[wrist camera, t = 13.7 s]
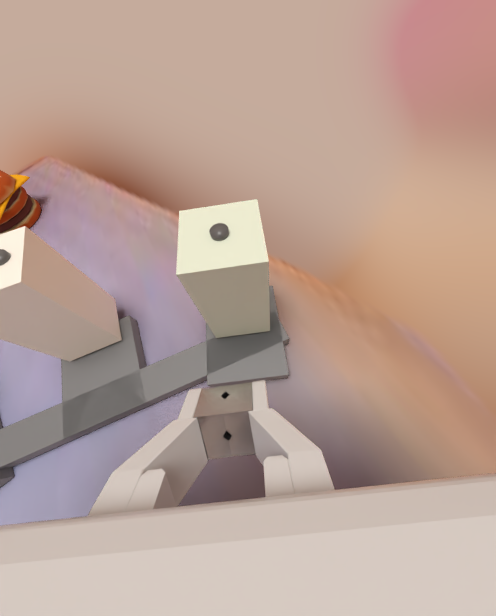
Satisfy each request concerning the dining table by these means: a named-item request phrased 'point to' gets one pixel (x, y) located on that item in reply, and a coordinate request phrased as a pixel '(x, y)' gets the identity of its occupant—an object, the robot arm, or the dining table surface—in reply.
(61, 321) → the key two dots
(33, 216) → the hamburger
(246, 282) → the key one dot
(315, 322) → the dining table surface
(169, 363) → the grey flat piece
